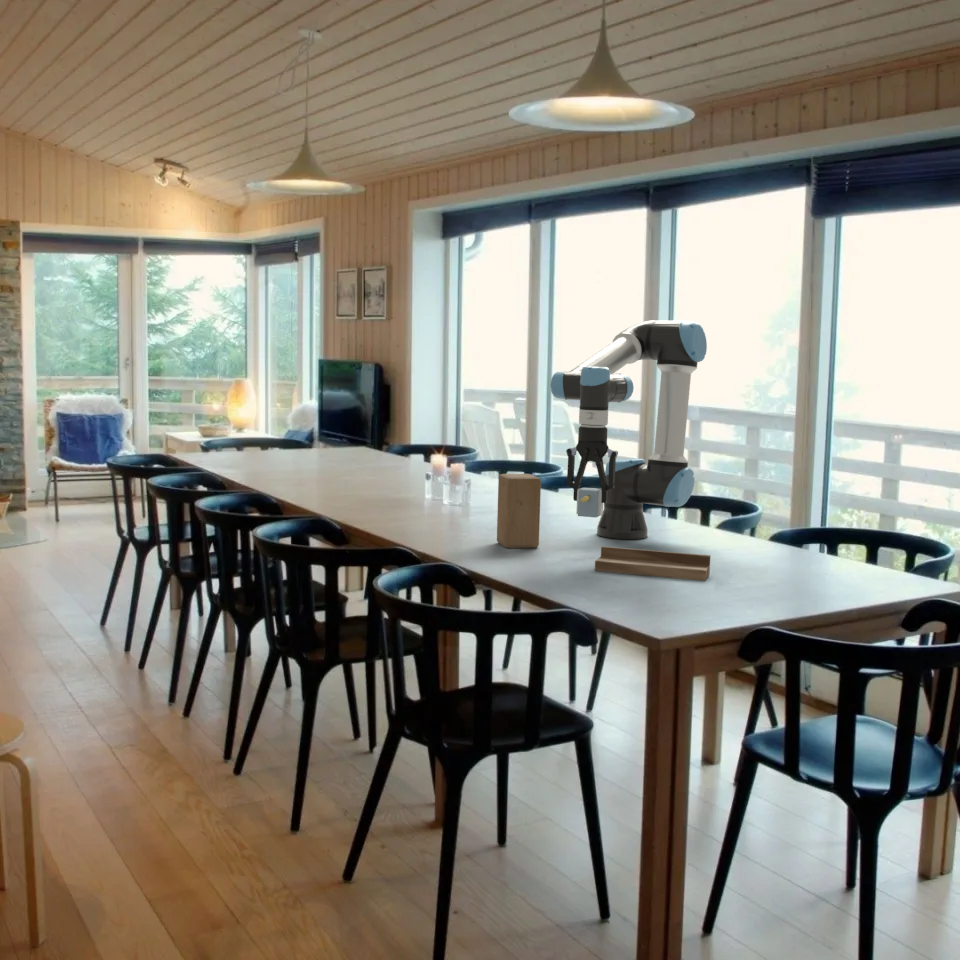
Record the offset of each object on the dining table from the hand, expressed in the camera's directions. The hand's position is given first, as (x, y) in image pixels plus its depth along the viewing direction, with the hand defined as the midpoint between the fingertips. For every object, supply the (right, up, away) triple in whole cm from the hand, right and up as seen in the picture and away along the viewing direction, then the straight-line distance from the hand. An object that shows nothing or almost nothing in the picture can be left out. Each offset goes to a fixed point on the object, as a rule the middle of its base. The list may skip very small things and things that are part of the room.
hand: (589, 514), depth 301 cm
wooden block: (-18, -10, +23) cm, 31 cm away
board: (+15, -15, -10) cm, 23 cm away
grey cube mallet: (-1, -1, -2) cm, 3 cm away
